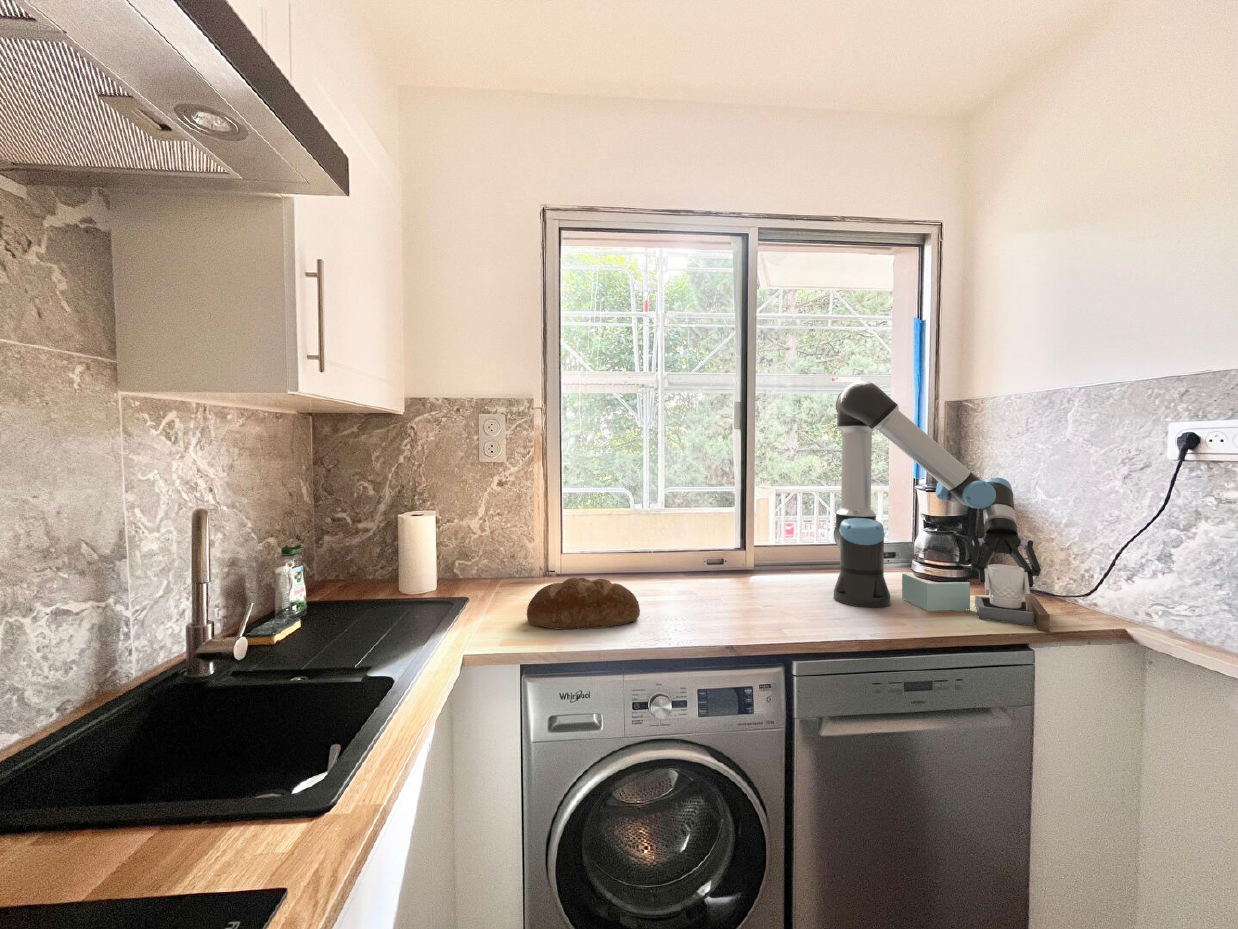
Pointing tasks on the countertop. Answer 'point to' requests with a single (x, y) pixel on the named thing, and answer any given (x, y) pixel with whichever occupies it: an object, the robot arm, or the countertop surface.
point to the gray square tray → (1003, 612)
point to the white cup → (1006, 585)
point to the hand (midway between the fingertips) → (1007, 594)
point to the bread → (582, 605)
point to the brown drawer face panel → (1038, 614)
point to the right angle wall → (936, 594)
